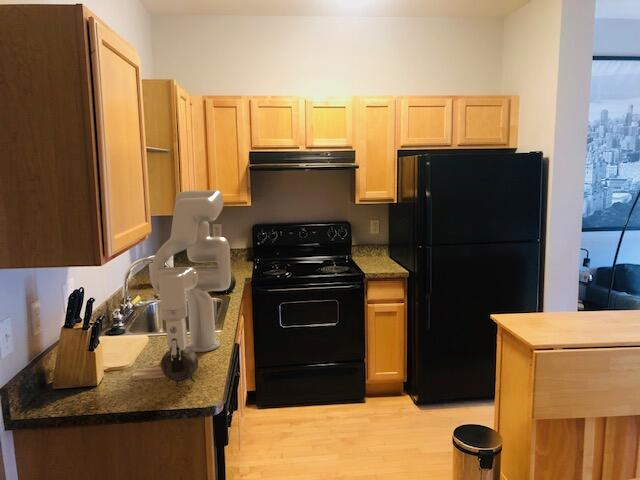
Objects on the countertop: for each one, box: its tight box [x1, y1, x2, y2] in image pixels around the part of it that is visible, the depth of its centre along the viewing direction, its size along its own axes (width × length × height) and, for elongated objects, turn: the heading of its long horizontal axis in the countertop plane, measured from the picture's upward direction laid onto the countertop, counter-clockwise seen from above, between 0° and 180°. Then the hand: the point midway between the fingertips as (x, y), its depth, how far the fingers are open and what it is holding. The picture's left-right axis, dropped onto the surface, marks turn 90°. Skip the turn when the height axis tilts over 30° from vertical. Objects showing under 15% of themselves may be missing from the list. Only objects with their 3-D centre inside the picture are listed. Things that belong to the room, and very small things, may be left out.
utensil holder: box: [147, 254, 174, 282], centre depth 284 cm, size 15×15×18 cm
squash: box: [212, 272, 237, 293], centre depth 262 cm, size 14×15×15 cm
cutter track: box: [131, 366, 167, 381], centre depth 155 cm, size 5×17×4 cm, turn 100°
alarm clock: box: [160, 345, 199, 387], centre depth 146 cm, size 11×5×16 cm, turn 83°
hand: (179, 366), depth 146 cm, fingers closed on alarm clock, 6 cm apart
